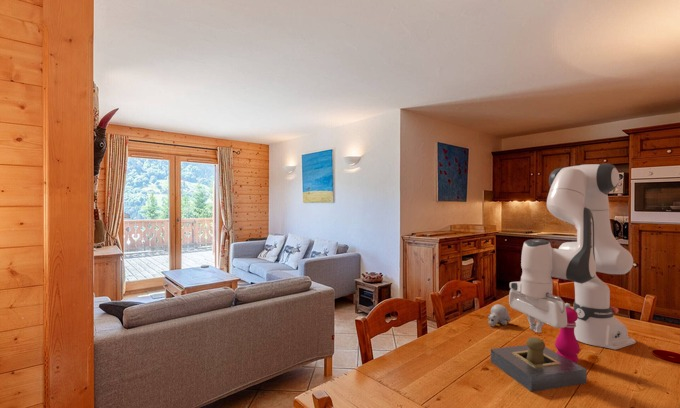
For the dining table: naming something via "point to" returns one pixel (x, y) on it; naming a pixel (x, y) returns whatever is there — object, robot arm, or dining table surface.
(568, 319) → the pepper mill
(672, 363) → the dining table surface
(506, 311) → the round bodied animal figurine
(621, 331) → the robot arm
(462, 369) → the dining table surface
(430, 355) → the dining table surface
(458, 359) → the dining table surface
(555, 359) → the block
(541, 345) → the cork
